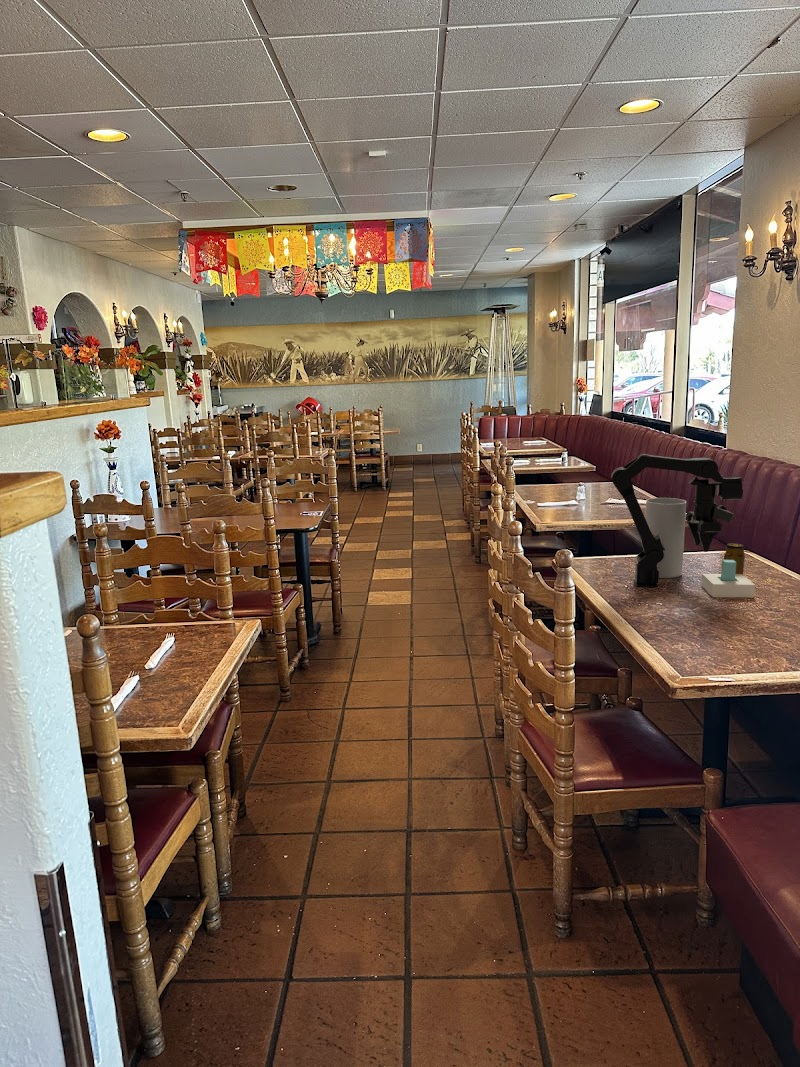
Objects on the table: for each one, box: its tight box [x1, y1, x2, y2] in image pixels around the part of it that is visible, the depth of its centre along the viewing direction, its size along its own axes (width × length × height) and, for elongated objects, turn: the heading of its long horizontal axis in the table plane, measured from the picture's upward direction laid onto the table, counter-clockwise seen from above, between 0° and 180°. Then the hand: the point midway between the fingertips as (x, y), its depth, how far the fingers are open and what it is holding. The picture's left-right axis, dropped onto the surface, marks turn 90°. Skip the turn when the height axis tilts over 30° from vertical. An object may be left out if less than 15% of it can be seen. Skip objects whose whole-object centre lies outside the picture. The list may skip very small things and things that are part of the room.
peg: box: [720, 559, 736, 581], centre depth 225 cm, size 3×3×9 cm
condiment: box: [723, 542, 754, 583], centre depth 236 cm, size 7×8×12 cm
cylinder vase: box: [644, 497, 687, 579], centre depth 245 cm, size 12×12×25 cm
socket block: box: [701, 573, 756, 599], centre depth 226 cm, size 12×12×4 cm
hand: (701, 548), depth 229 cm, fingers open, 9 cm apart
